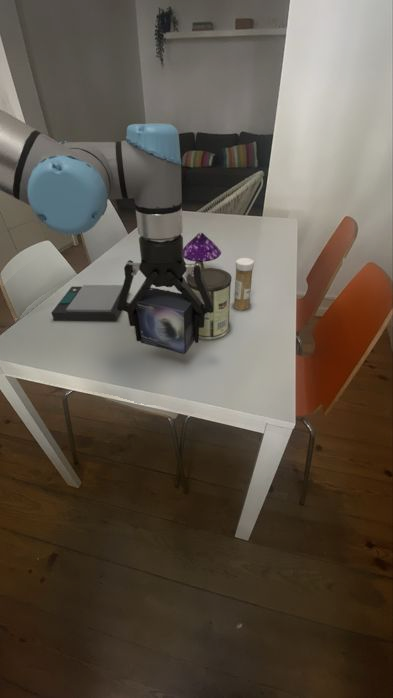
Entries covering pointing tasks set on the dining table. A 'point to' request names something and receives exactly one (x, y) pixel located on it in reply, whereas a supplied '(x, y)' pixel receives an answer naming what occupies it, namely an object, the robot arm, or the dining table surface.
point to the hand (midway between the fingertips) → (168, 338)
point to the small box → (166, 320)
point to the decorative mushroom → (201, 250)
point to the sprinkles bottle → (243, 283)
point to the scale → (89, 304)
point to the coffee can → (214, 301)
